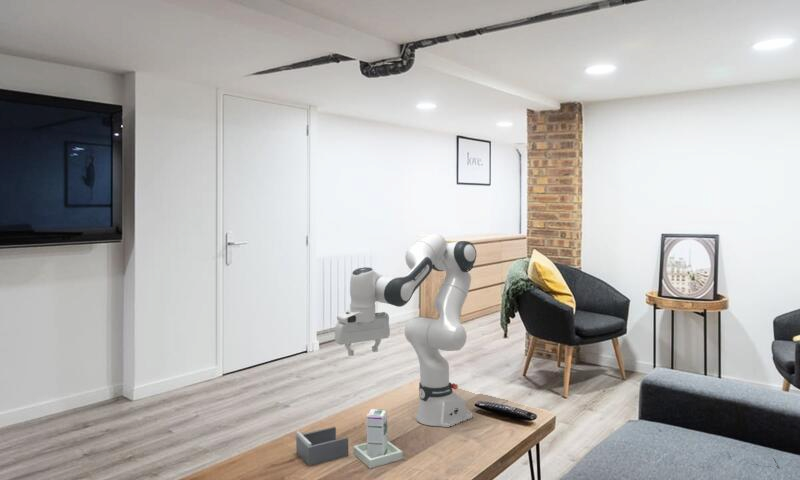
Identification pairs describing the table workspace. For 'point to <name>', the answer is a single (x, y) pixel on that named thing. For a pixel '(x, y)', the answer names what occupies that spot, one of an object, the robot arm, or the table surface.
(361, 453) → the tray
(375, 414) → the syrup box
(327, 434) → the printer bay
